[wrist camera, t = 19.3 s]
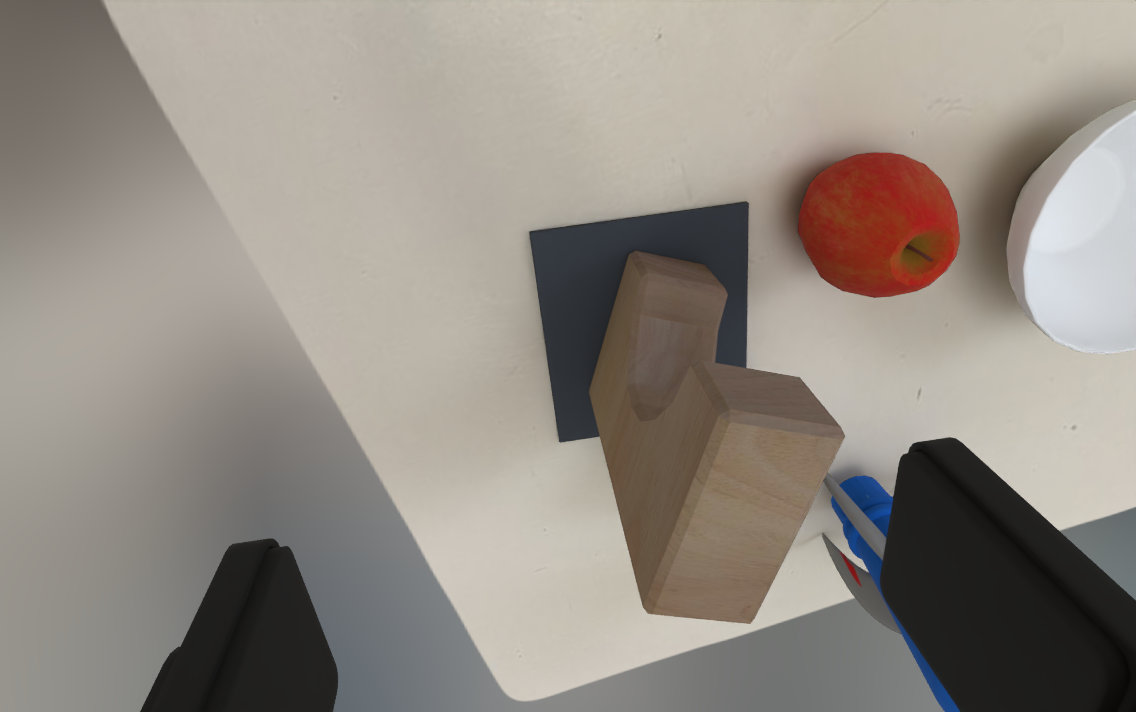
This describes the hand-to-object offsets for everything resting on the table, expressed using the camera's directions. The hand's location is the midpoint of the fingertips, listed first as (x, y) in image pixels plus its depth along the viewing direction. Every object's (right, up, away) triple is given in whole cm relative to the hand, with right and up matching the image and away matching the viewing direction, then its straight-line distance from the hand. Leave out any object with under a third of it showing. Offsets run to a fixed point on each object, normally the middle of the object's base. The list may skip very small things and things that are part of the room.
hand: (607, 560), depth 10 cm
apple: (+17, +13, +33) cm, 40 cm away
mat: (+5, +5, +36) cm, 37 cm away
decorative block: (+5, +5, +36) cm, 36 cm away
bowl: (+33, +14, +35) cm, 50 cm away
